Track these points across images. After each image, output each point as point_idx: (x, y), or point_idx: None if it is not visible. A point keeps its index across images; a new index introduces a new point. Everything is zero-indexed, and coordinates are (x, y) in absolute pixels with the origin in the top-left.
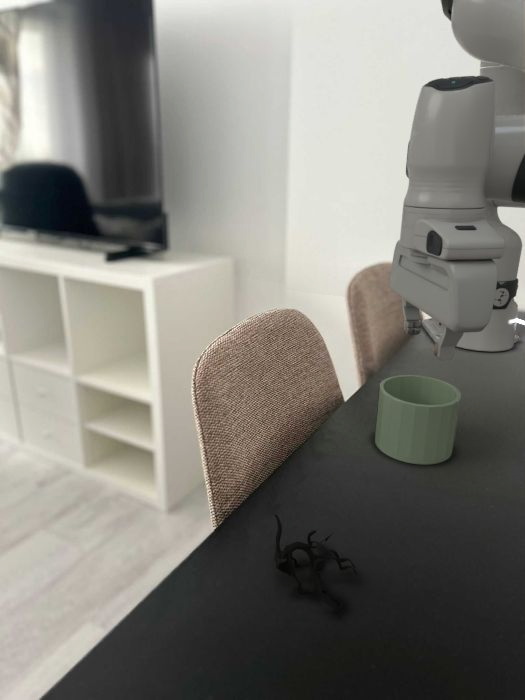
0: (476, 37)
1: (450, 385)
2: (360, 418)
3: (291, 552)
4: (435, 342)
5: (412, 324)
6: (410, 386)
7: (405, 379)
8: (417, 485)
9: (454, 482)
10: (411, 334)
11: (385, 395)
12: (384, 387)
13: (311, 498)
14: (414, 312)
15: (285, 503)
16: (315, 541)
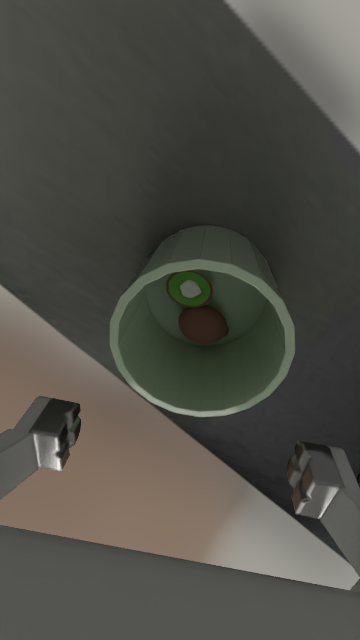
0: None
1: (194, 266)
2: (102, 326)
3: None
4: (298, 513)
5: (64, 453)
6: (126, 311)
7: (120, 331)
8: (310, 344)
9: (328, 292)
10: (79, 421)
11: (203, 415)
12: (150, 385)
13: (280, 452)
14: (1, 465)
15: (278, 472)
16: (357, 482)
